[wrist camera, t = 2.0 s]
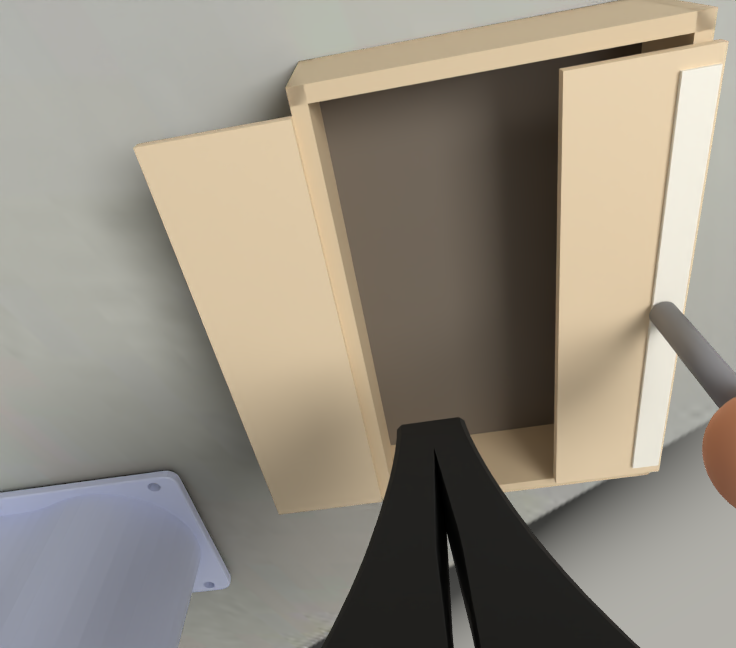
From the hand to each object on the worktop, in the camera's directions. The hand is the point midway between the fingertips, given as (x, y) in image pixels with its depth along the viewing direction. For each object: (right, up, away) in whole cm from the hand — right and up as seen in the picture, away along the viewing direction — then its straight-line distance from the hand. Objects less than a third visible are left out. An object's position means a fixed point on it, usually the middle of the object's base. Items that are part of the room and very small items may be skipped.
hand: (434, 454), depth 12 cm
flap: (+6, +3, +3) cm, 7 cm away
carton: (+1, +4, +6) cm, 8 cm away
